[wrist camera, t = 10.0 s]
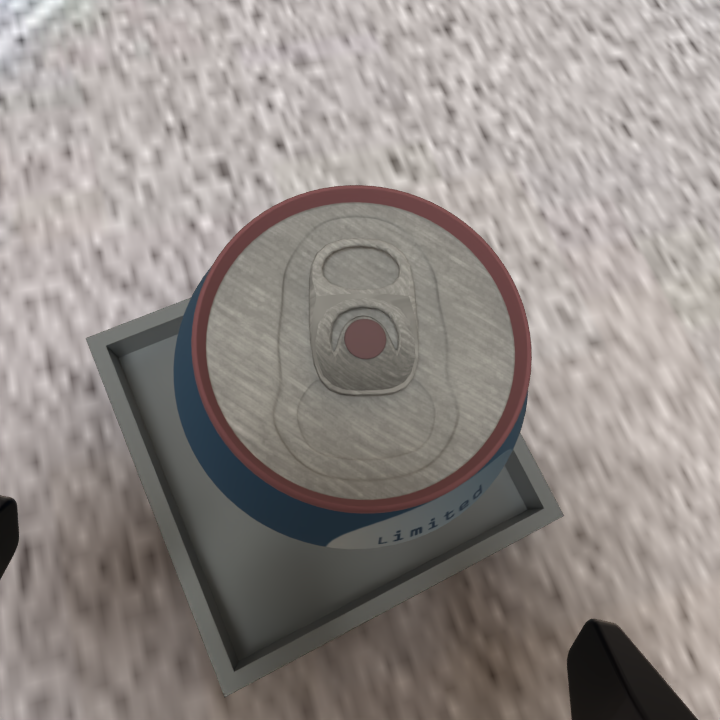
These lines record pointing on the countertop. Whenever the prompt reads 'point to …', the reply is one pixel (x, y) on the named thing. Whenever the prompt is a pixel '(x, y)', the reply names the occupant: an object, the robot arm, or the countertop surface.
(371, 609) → the tray
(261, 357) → the soda can
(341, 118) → the countertop surface
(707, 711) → the countertop surface
